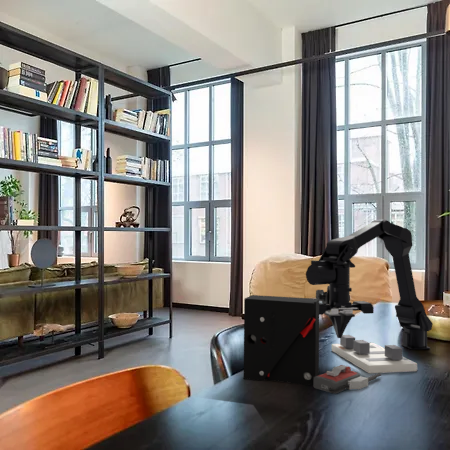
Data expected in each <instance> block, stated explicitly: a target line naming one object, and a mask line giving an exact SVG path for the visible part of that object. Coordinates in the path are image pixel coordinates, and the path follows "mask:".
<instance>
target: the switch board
mask: <svg viewBox="0 0 450 450" xmlns="http://www.w3.org/2000/svg"><path fill="white" fill-rule="evenodd" d="M369 343H370V354H359V353H357V352H355V351H354V350H353V348H345V347H343V346H341V345H340V343H332V344H331V351H332V352H333V353H335V354H337V355H338V356H340V357H341V358H343V359H345V360H347V361H348V362H350V363H351V364H353V365H354V366H356V367H358V368H360V369H361V370H363V371H364V372H366V373H368V374H377V373H381V374H384V373H385V374H386V373H403V372H407V373H408V372H417V371H418V363H417V362H414V361H413V360H410V359H408V358H406V357H404V356H402V359H401V360H392V359H390V358H388V357H386V356H385V347H382V346H380V345H379V344H376V343H374V342H369Z"/></svg>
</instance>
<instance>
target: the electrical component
mask: <svg viewBox="0 0 450 450" xmlns="http://www.w3.org/2000/svg"><path fill="white" fill-rule="evenodd" d="M243 301H244V304H243V306H244V307H243V309H244V310H243V312H244V314H243V316H244V317H243V380H249V381H252V380H253V381H259V382H260V381H271V382H281V383H288V384H295V385H303V386H312V387H313V383H314V377H315V376H318V375H320V371H319V370H320V367H319V366H320V365H319V364H320V363H319V362H320V315H319V302H320V301H319V299H316V298H313V297H310V298H308V297H293V296H292V297H291V296H274V295H273V296H272V295H258V294H257V295H256V294H252V295H249V296H247V297H244V300H243Z"/></svg>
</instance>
